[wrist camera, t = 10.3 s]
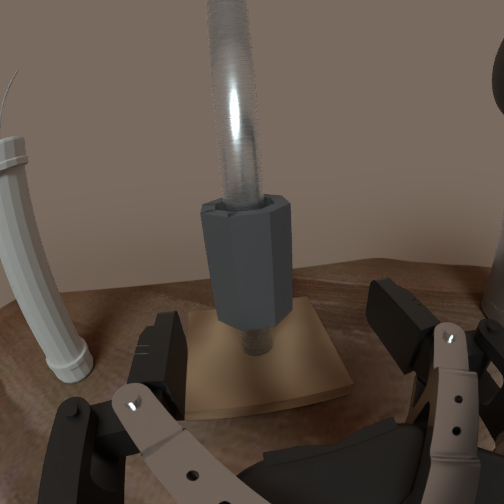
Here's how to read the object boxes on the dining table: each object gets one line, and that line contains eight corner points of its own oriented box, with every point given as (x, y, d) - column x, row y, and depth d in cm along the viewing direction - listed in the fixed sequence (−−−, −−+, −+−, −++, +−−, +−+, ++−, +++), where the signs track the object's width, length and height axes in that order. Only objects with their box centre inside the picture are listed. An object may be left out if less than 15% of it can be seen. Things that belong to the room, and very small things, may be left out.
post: (306, 306, 33) (293, 25, 20) (350, 393, 20) (353, -43, 7) (191, 321, 32) (151, 36, 19) (185, 420, 19) (103, -34, 6)
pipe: (71, 348, 27) (5, 96, 15) (108, 357, 26) (39, 70, 14) (48, 378, 22) (-36, 100, 10) (85, 392, 21) (-7, 69, 9)
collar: (281, 284, 27) (277, 191, 23) (298, 322, 21) (297, 209, 17) (217, 292, 26) (203, 199, 22) (218, 334, 20) (198, 220, 17)
